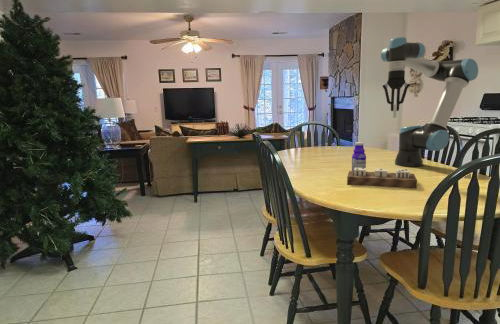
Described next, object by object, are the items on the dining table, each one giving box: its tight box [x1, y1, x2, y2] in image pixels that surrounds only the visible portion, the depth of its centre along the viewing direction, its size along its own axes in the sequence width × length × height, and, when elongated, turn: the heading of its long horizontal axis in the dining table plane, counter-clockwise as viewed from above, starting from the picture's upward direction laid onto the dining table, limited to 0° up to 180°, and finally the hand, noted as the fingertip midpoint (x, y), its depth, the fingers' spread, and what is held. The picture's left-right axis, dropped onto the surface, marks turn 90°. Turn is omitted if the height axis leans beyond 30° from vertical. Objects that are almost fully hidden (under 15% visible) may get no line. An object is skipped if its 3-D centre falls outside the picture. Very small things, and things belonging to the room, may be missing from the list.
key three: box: [395, 168, 411, 178], centre depth 155 cm, size 5×6×6 cm
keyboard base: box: [346, 170, 418, 190], centre depth 158 cm, size 30×13×4 cm, turn 70°
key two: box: [354, 167, 367, 176], centre depth 161 cm, size 5×6×6 cm
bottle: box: [351, 141, 367, 171], centre depth 176 cm, size 7×6×17 cm
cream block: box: [374, 167, 388, 177], centre depth 158 cm, size 5×6×6 cm
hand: (394, 117), depth 170 cm, fingers closed
